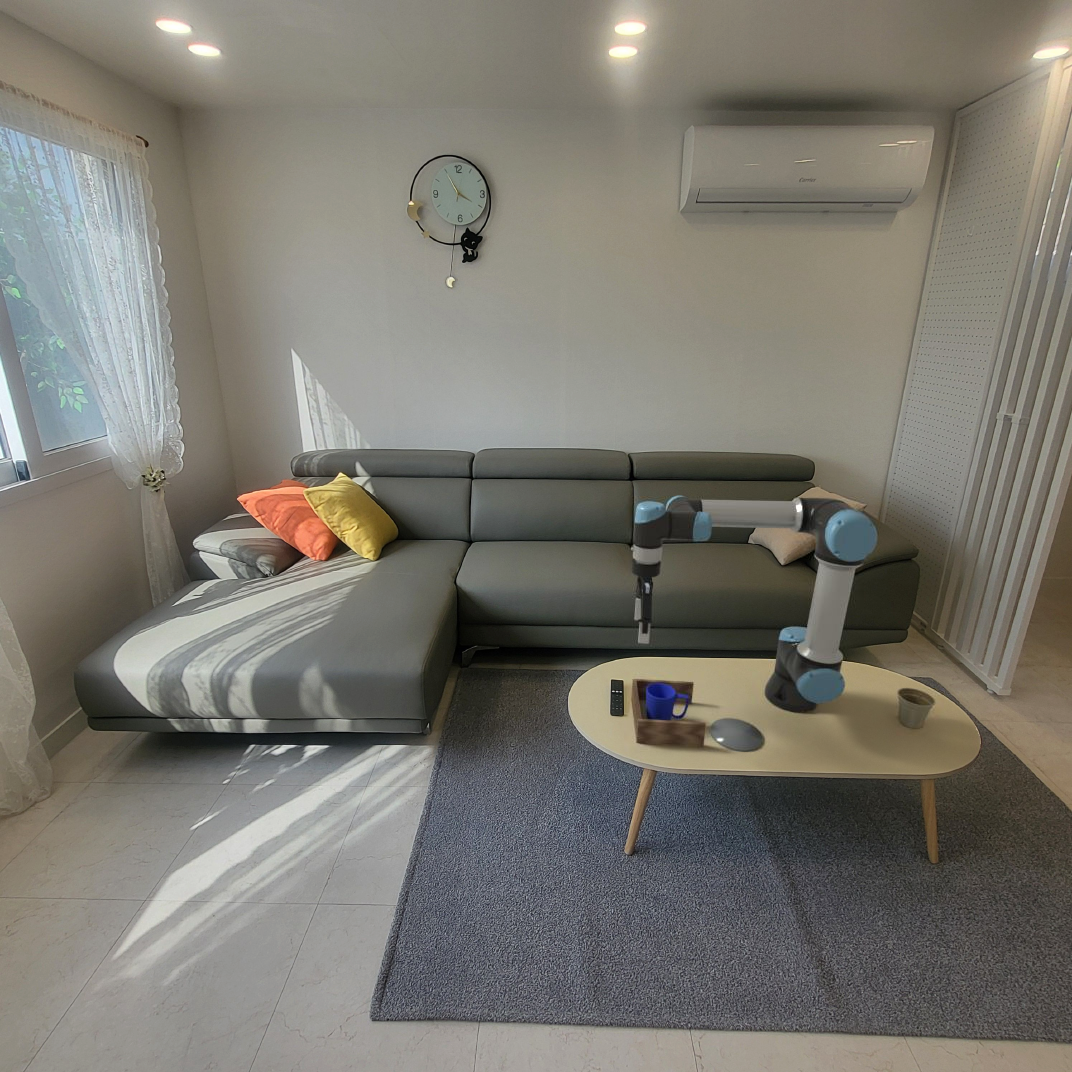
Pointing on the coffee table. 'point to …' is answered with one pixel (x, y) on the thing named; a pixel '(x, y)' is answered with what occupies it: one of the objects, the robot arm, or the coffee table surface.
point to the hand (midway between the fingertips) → (641, 631)
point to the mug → (662, 702)
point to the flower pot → (914, 706)
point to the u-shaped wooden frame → (665, 729)
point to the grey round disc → (736, 734)
